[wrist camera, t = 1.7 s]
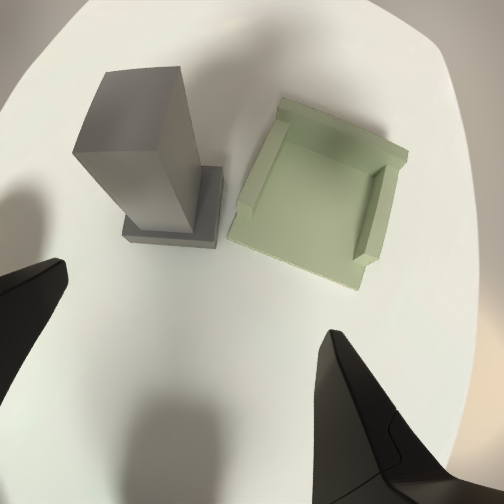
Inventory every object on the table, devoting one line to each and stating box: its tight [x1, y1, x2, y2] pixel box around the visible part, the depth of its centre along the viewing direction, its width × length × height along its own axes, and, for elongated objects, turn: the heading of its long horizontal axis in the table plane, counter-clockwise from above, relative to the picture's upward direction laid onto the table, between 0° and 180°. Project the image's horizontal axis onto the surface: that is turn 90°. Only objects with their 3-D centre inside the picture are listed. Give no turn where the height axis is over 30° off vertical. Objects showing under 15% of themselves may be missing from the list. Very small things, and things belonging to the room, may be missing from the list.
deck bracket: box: [227, 98, 408, 291], centre depth 23 cm, size 11×11×4 cm
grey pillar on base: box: [72, 66, 223, 249], centre depth 18 cm, size 6×7×13 cm
